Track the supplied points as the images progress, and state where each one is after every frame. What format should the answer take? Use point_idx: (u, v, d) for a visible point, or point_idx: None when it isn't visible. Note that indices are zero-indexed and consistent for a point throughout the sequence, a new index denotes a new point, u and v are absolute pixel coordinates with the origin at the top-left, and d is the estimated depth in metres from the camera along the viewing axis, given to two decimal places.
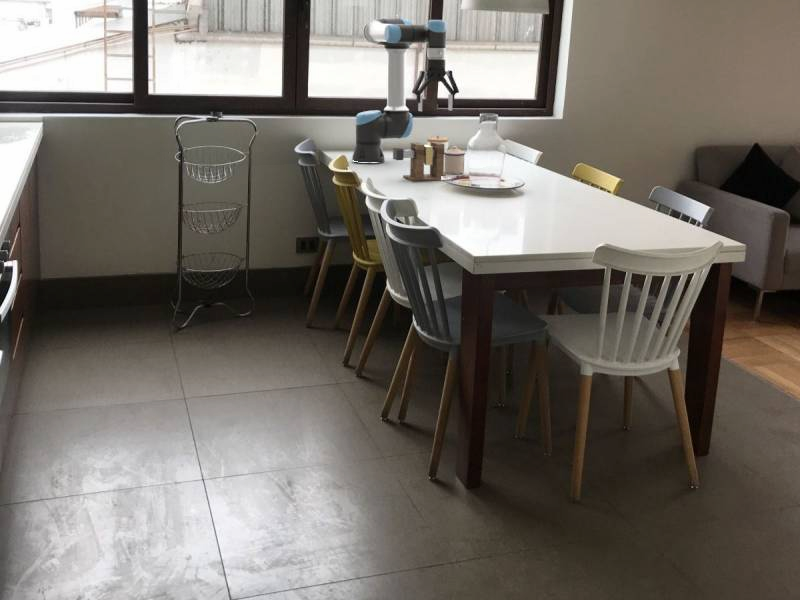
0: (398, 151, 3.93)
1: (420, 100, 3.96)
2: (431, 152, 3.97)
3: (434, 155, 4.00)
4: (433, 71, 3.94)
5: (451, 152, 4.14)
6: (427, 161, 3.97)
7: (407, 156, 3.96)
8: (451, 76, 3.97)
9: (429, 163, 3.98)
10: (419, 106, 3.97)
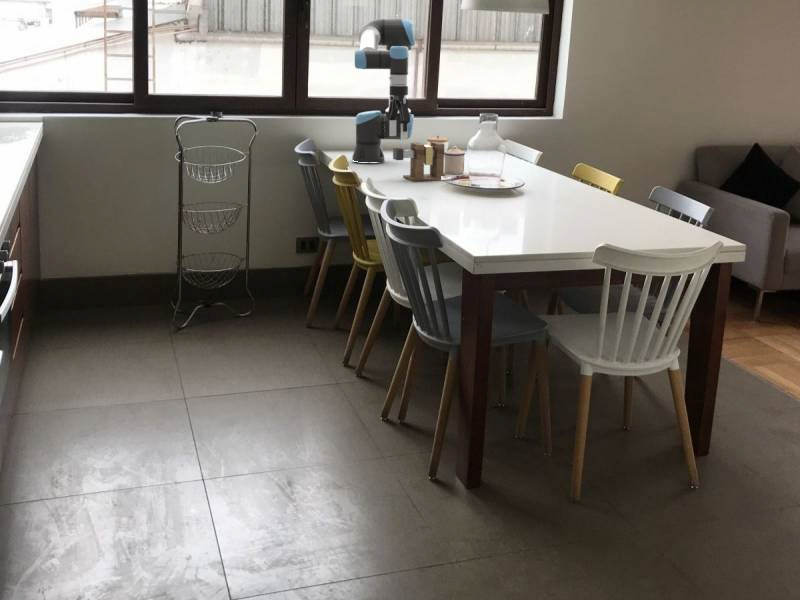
0: (398, 151, 3.93)
1: None
2: (431, 152, 3.97)
3: (434, 155, 4.00)
4: (394, 97, 3.90)
5: (451, 152, 4.14)
6: (427, 161, 3.97)
7: (407, 156, 3.96)
8: (401, 104, 3.83)
9: (429, 163, 3.98)
10: None
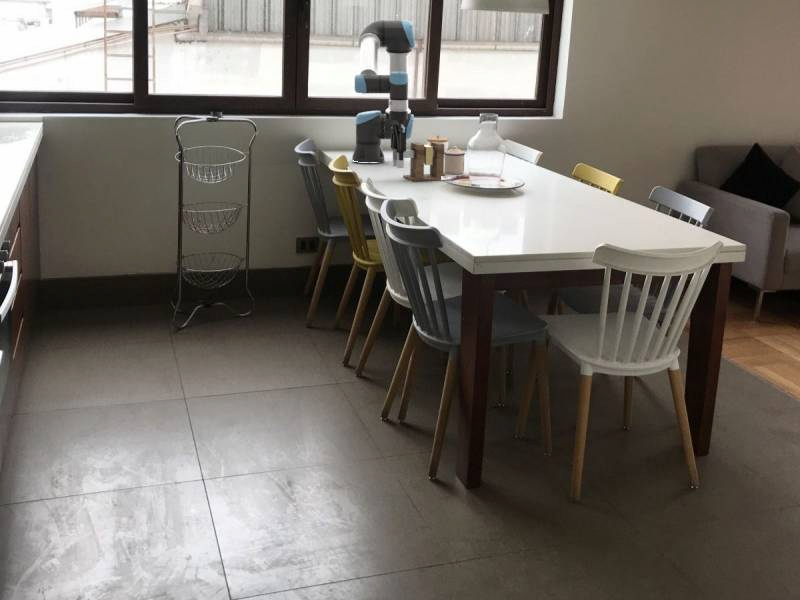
0: None
1: None
2: (431, 152, 3.97)
3: (434, 155, 4.00)
4: (394, 120, 3.93)
5: (451, 152, 4.14)
6: (427, 161, 3.97)
7: (407, 156, 3.96)
8: (400, 133, 3.88)
9: (429, 163, 3.98)
10: None
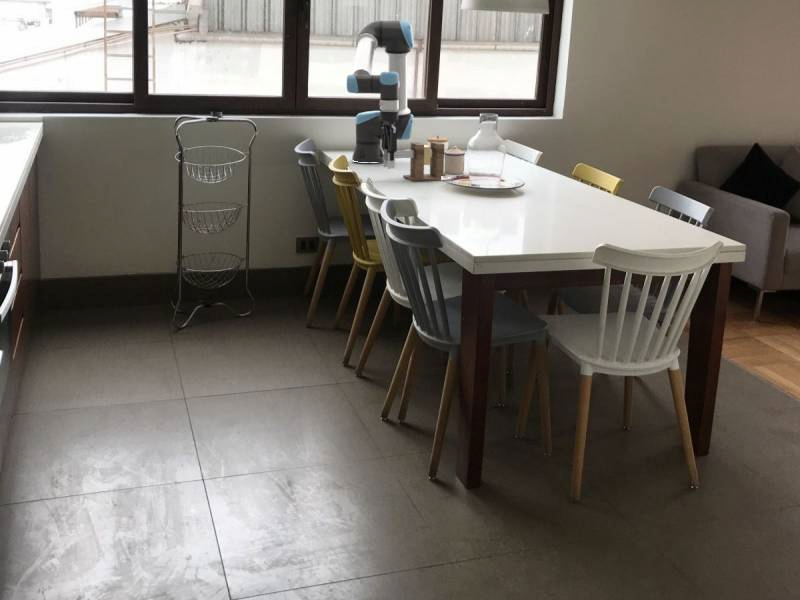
0: None
1: None
2: (429, 152, 3.96)
3: None
4: (384, 121, 3.92)
5: (451, 152, 4.14)
6: (425, 161, 3.97)
7: (398, 156, 3.94)
8: (390, 133, 3.86)
9: (427, 163, 3.98)
10: None
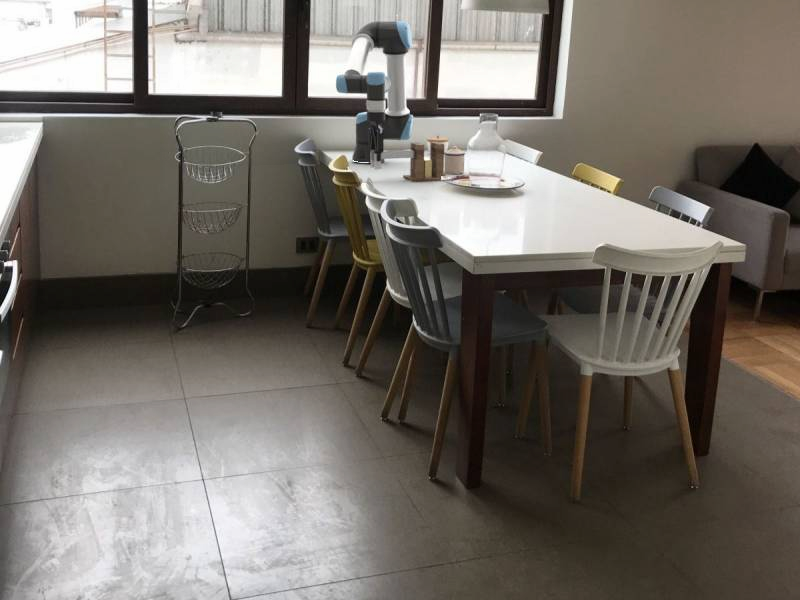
0: None
1: None
2: (430, 165, 3.98)
3: (413, 156, 3.97)
4: (371, 121, 3.90)
5: (451, 152, 4.14)
6: (426, 174, 3.99)
7: (385, 157, 3.93)
8: (377, 133, 3.84)
9: (428, 176, 3.99)
10: None
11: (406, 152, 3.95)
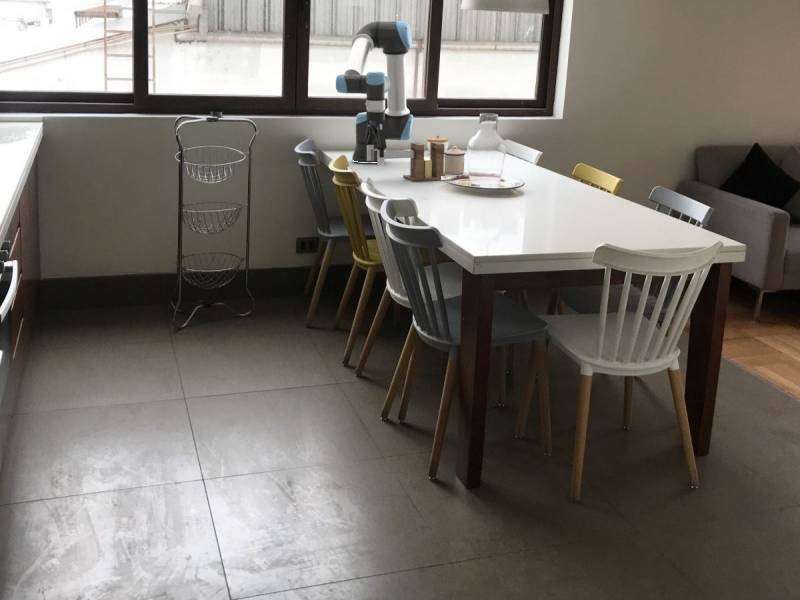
0: (376, 152, 3.90)
1: None
2: (430, 165, 3.98)
3: (412, 156, 3.97)
4: (371, 123, 3.90)
5: (451, 152, 4.14)
6: (426, 174, 3.99)
7: (385, 157, 3.93)
8: (377, 130, 3.83)
9: (428, 176, 3.99)
10: None
11: (406, 152, 3.95)
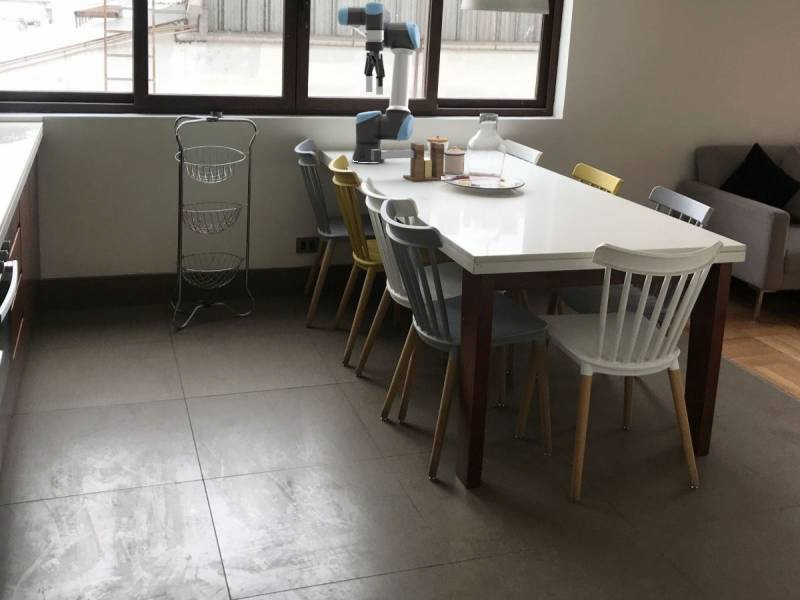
0: (376, 152, 3.90)
1: None
2: (430, 165, 3.98)
3: (412, 156, 3.97)
4: (370, 53, 3.97)
5: (451, 152, 4.14)
6: (426, 174, 3.99)
7: (385, 157, 3.93)
8: (376, 59, 3.90)
9: (428, 176, 3.99)
10: None
11: (406, 152, 3.95)
